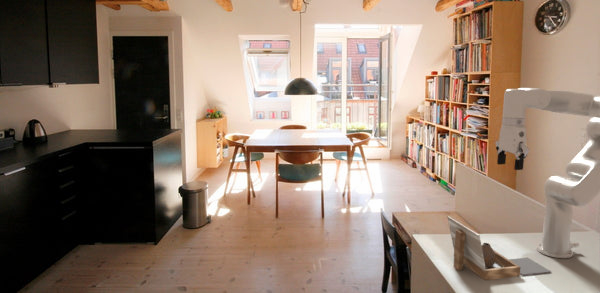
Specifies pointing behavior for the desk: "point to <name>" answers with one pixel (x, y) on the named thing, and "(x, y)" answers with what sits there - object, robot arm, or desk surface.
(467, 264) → the frame
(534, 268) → the mat
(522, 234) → the desk surface
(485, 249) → the vase
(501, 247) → the desk surface
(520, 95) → the robot arm
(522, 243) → the desk surface
